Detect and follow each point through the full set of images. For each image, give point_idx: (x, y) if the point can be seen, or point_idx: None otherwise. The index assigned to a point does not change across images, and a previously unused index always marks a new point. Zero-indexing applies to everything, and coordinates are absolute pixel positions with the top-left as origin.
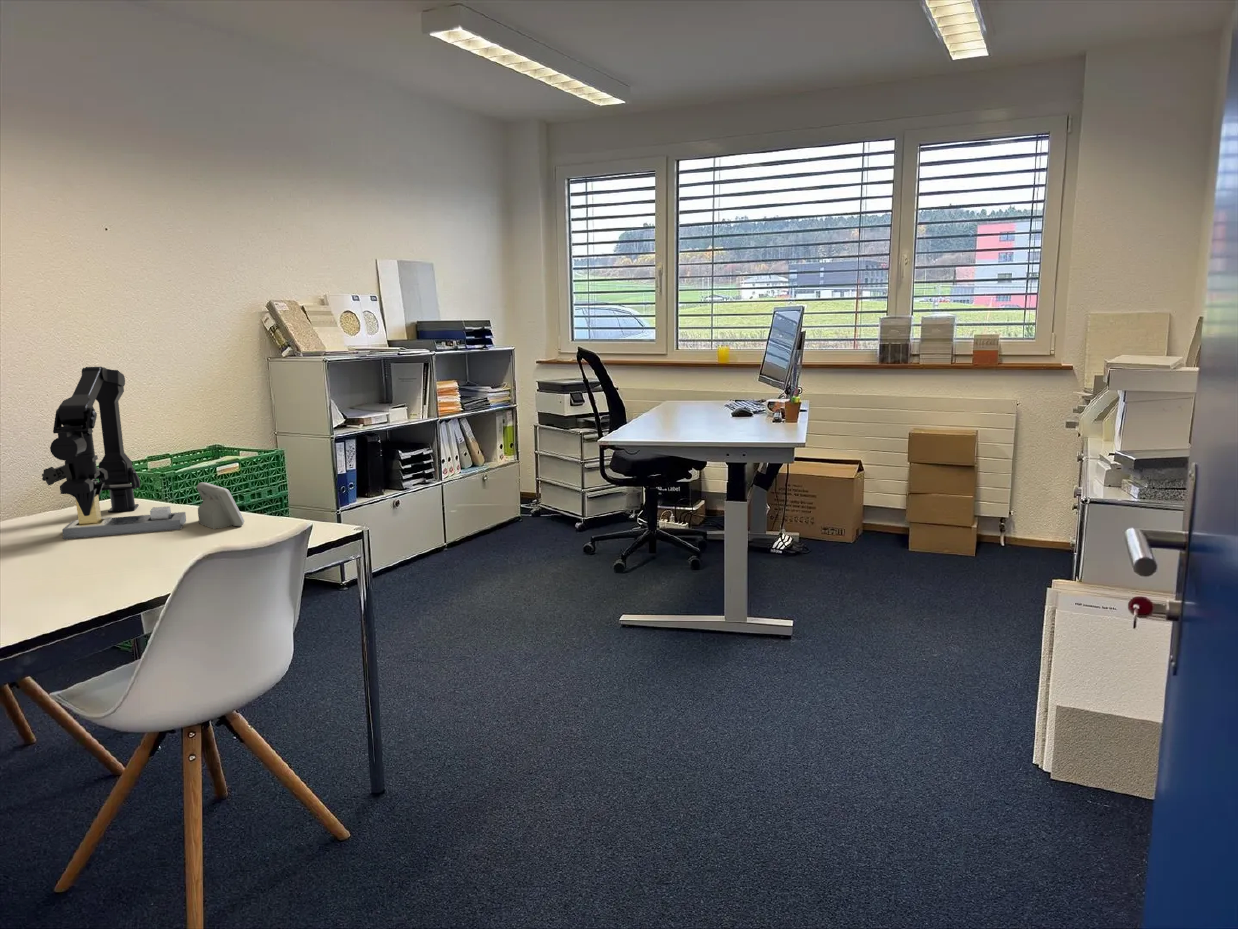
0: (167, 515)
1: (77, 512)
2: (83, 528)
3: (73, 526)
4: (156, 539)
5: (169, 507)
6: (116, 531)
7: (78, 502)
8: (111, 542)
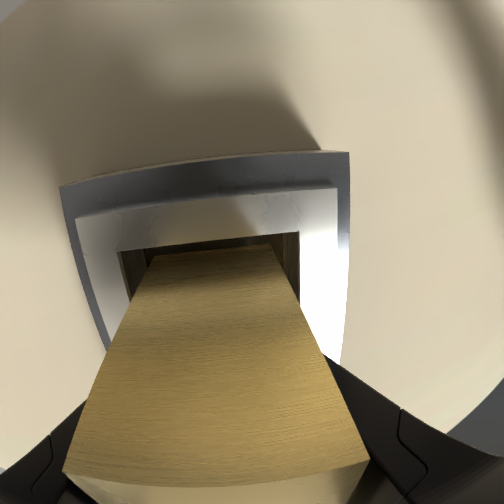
0: None
1: (115, 334)
2: (93, 311)
3: (95, 252)
4: None
5: None
6: None
7: (34, 454)
8: (51, 394)
